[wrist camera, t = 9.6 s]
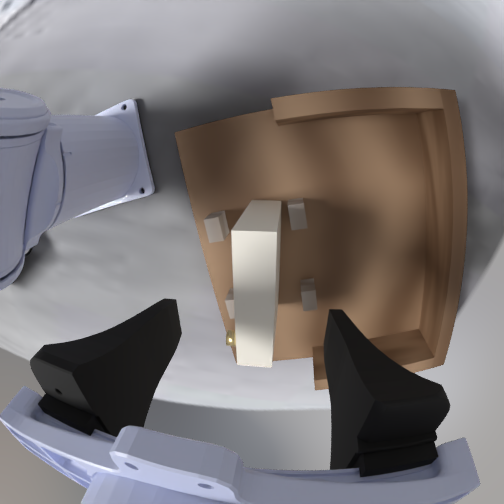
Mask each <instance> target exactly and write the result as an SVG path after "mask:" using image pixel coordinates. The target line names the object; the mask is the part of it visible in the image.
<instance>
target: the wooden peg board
mask: <svg viewBox="0 0 504 504" xmlns="http://www.w3.org/2000/svg"><path fill="white" fill-rule="evenodd" d="M271 102H272V107H273V109H269V110H264V111H259V112H254V113H249V114H244V115H240V116H235V117H231V118H226V119H222V120H218V121H214V122H210V123H206V124H203V125H199V126H195V127H192V128H188V129H185V130H182V131H178V132H175V137H176V142H177V146H178V151H179V156H180V160H181V164H182V169H183V173H184V177H185V182H186V186H187V190H188V194H189V198H190V202H191V206H192V210H193V214H194V218H195V222H196V226H197V230H198V234H199V238H200V242H201V245H202V249H203V253H204V256H205V260H206V264H207V267H208V271H209V274H210V278H211V282H212V285H213V289H214V292H215V295H216V299H217V302H218V306H219V309H220V312H221V316H222V319H223V322H224V326H225V329H226V332H227V331H228V329H229V330H235V313H234V291H233V266H232V237H231V230H232V229H233V227H234V226H235V224H236V223H237V221H238V220H239V218H240V217H241V215H242V214H243V212H244V211H245V209H246V208H247V206H248V205H249V203H250V202H251V200H273V201H281V242H280V272H279V297H278V312H277V322H276V333H275V343H274V352H273V361H278V360H289V359H299V358H309V357H313V366H314V383H315V390H322V389H329V388H328V382H327V376H326V370H325V364H324V345H323V343H324V338H325V332H326V326H327V320H328V313H329V309H342V310H343V311H344V312H345V313H346V315H347V316H348V317H349V318H350V319H351V321H352V322H353V323H354V324H355V325H356V327H357V328H358V329H359V330H360V331H361V332H362V333H363V335H364V336H365V337H366V338H367V339H368V340H369V341H370V342H371V343H372V344H373V345H375V346H376V347H377V348H378V349H379V350H380V351H381V352H383V353H384V354H385V355H386V356H388V357H389V358H390V359H392V360H393V361H394V362H396V363H398V364H399V365H401V366H402V367H404V368H405V369H407V370H409V371H411V372H413V373H415V372H419V371H423V370H426V369H430V368H434V367H437V366H441V365H443V364H444V362H445V358H446V354H447V351H448V347H449V344H450V340H451V336H452V331H453V327H454V323H455V318H456V313H457V308H458V303H459V297H460V291H461V284H462V277H463V269H464V260H465V250H466V236H467V172H466V158H465V148H464V139H463V131H462V124H461V118H460V112H459V106H458V101H457V96H456V92H455V90H448V89H435V88H414V87H377V88H355V89H341V90H329V91H320V92H311V93H304V94H296V95H290V96H283V97H277V98H272V99H271ZM231 348H232V351H233V354H234V357H235V360H236V363H237V353H236V346H231Z"/></svg>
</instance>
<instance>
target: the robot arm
mask: <svg viewBox="0 0 504 504" xmlns="http://www.w3.org/2000/svg"><path fill="white" fill-rule="evenodd" d="M125 105H126V106H127V108H126V109H125V110H124V106H125ZM142 188H144V190H145V192H144V193H142V191H141V189H142ZM154 191H155V187H154V183H153V179H152V175H151V170H150V166H149V162H148V157H147V153H146V148H145V143H144V139H143V134H142V129H141V124H140V119H139V113H138V108H137V103H136V101H135V100H133V99H128V100H126V101H124V102H122V103H119V104H117V105H115V106H113V107H111V108H109V109H107V110H105V111H103V112H101V113H99V114H97V115H95V116H90V115H51V112H50V110H49V109H48V108H47V106H46V104H45V102H44V100H43V99H41V98H39V97H38V96H35V95H33V94H30V93H26V92H23V91H18V90H13V89H7V88H0V290H2V289H4V288H6V287H7V286H9V285H10V284H12V283H13V282H14V281H15V280H16V279H17V277H18V276H19V274H20V273H21V271H22V269H23V265H24V259H25V251H26V250H28V249H30V248H31V247H33V246H35V245H37V244H38V242H39V238H40V236H41V234H42V233H43V232H45V231H47V230H49V229H51V228H53V227H55V226H57V225H59V224H61V223H63V222H65V221H68V220H70V219H72V218H76V217H79V216H82V215H85V214H88V213H91V212H95V211H98V210H101V209H104V208H107V207H111V206H114V205H117V204H121V203H124V202H128V201H131V200H135V199H138V198H142V197H146V196H149V195H151V194H153V193H154ZM181 334H182V332H181V326H180V320H179V314H178V308H177V302H176V300H175V299H163V300H161V301H159V302H157V303H155V304H154V305H152V306H150V307H149V308H147V309H146V310H144V311H142V312H141V313H139V314H137V315H136V316H134V317H132V318H130V319H128V320H126V321H125V322H123V323H121V324H119V325H117V326H115V327H113V328H111V329H108V330H106V331H103V332H101V333H98V334H95V335H92V336H89V337H86V338H83V339H79V340H74V341H70V342H64V343H57V344H49V345H44V346H43V347H42V348H41V349H40V350H39V351H38V352H37V353H36V354H35V355H34V356H33V357H32V359H31V360H30V365H31V369H32V371H33V373H34V375H35V377H36V379H37V380H38V382H39V384H40V385H41V387H42V388H43V390H44V391H45V393H46V394H45V395H44V397H43V398H42V397H41V396H40V395H39V394H38V393H36V392H35V391H33V390H31V389H29V388H28V387H26V386H23V387H22V389H21V390H20V391H19V392H18V393H17V395H16V396H15V397H14V398H13V399H12V401H11V402H10V403H9V404H8V405H7V407H6V408H5V409H4V410H3V412H2V413H1V414H0V420H1V421H2V423H3V424H4V425H5V426H6V427H7V429H8V430H9V431H10V432H11V433H12V434H13V435H14V436H15V437H16V438H17V440H18V441H19V442H20V443H21V444H22V445H23V446H24V447H25V448H26V449H27V450H29V451H30V452H32V453H33V454H34V455H36V456H37V457H39V458H40V459H41V460H43V461H44V462H46V463H47V464H49V465H50V466H52V467H53V468H55V469H56V470H58V471H59V472H61V473H62V474H64V475H65V476H67V477H69V478H70V479H72V480H73V481H75V482H77V483H78V484H80V485H82V486H84V487H86V488H87V491H86V494H85V495H84V497H83V500H82V502H81V504H454V503H456V502H457V501H459V500H460V499H462V498H463V497H465V496H466V495H468V494H469V493H470V492H472V491H473V490H475V489H476V488H477V487H479V485H480V481H479V477H478V474H477V470H476V467H475V464H474V461H473V458H472V455H471V452H470V449H469V446H468V443H467V441H466V438H461V439H457V440H454V441H450V442H447V443H444V444H441V445H440V446H438V447H437V448H436V447H435V443H434V441H436V440H437V435H436V432H435V430H436V429H437V428H438V426H439V425H440V424H441V422H442V421H443V420H444V418H445V417H446V415H447V413H448V412H449V409H450V403H449V400H448V398H447V395H446V393H445V391H444V389H443V387H442V385H440V384H438V383H435V382H433V381H430V380H428V379H425V378H422V377H420V376H418V375H417V374H415V373H413V372H411V371H409V370H407V369H405V368H404V367H402V366H401V365H399V364H398V363H396V362H394V361H393V360H392V359H390V358H389V357H388V356H386V355H385V354H384V353H383V352H381V351H380V350H379V349H378V348H377V347H376V346H375V345H373V344H372V343H371V342H370V341H369V340H368V339H367V338H366V337H365V336H364V335H363V333H362V332H361V331H360V330H359V329H358V328H357V327H356V325H355V324H354V323H353V322H352V321H351V319H350V318H349V317H348V316H347V315H346V313H345V312H344V311H343V310H342V309H329V313H328V320H327V326H326V332H325V338H324V343H323V345H324V364H325V370H326V376H327V382H328V388H329V394H330V401H331V423H332V431H331V432H332V433H331V434H332V435H331V436H332V438H331V462H330V470H315V471H313V470H310V471H309V470H307V471H306V470H304V471H303V470H302V471H301V470H299V471H298V470H272V469H257V468H247V467H244V466H243V461H242V460H241V459H240V457H239V455H238V454H237V453H235V452H233V451H231V450H230V449H228V448H226V447H223V446H219V445H216V444H212V443H208V442H203V441H197V440H192V439H187V438H183V437H178V436H174V435H169V434H165V433H161V432H158V431H154V430H150V429H146V428H143V427H144V423H145V419H146V416H147V413H148V410H149V407H150V404H151V401H152V398H153V396H154V393H155V390H156V388H157V386H158V383H159V381H160V379H161V378H162V376H163V374H164V372H165V370H166V368H167V366H168V364H169V362H170V361H171V359H172V357H173V355H174V353H175V351H176V349H177V346H178V343H179V340H180V337H181Z"/></svg>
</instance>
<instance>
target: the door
mask: <svg viewBox="0 0 504 504" xmlns="http://www.w3.org/2000/svg"><path fill="white" fill-rule="evenodd" d="M231 237H232V266H233V291H234V313H235V330H229V329H228V331H227V335H226V345H227V346H236V353H237V365H244V366H256V367H270V368H272V362H273V352H274V343H275V333H276V322H277V312H278V297H279V272H280V242H281V201H273V200H251V202H250V203H249V205H248V206H247V208H246V209H245V211H244V212H243V214H242V215H241V217H240V218H239V220H238V221H237V223H236V224H235V226H234V227H233V229H232V230H231Z"/></svg>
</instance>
